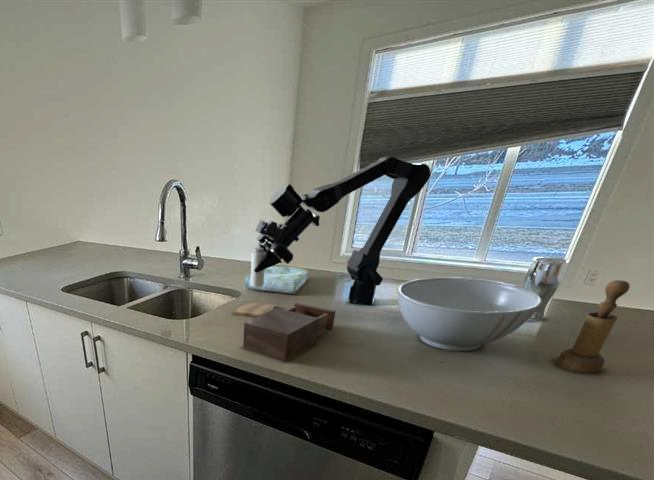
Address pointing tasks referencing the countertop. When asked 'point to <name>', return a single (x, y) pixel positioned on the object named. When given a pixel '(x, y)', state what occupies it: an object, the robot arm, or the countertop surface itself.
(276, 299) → the countertop surface
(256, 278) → the salt mill
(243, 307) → the cork mat
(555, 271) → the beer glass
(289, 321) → the cabinet
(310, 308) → the drawer
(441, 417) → the countertop surface
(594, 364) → the mortar and pestle
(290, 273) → the towel
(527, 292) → the decorative bowl
